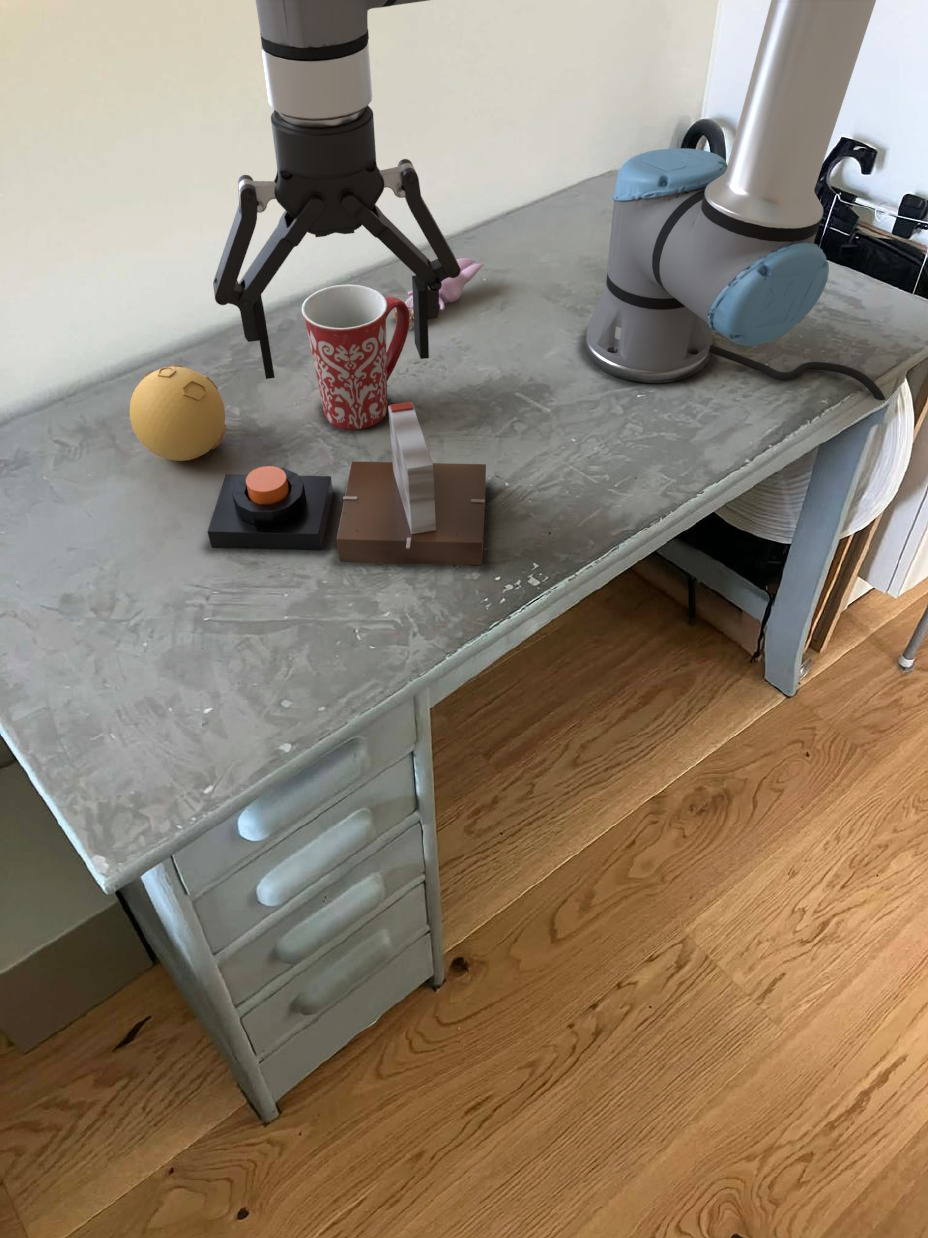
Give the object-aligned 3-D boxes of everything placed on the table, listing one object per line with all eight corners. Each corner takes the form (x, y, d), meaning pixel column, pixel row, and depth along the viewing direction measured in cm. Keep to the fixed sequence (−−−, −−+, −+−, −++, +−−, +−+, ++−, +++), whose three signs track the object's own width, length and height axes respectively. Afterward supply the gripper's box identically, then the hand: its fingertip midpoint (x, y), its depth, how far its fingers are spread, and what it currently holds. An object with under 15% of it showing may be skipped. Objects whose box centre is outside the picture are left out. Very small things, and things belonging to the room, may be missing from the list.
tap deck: (487, 479, 108) (487, 456, 106) (482, 573, 99) (482, 549, 96) (354, 477, 109) (351, 453, 107) (336, 569, 99) (333, 545, 97)
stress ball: (215, 484, 108) (196, 405, 101) (127, 474, 110) (102, 396, 102) (244, 428, 115) (229, 350, 108) (162, 419, 116) (141, 342, 109)
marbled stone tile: (436, 530, 98) (433, 462, 92) (411, 534, 98) (407, 466, 92) (415, 467, 105) (412, 400, 99) (393, 470, 105) (387, 403, 99)
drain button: (291, 479, 103) (289, 466, 102) (285, 505, 100) (282, 491, 99) (252, 479, 103) (249, 465, 102) (245, 504, 100) (242, 491, 99)
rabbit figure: (422, 343, 129) (498, 280, 135) (414, 304, 124) (493, 240, 130) (386, 326, 132) (462, 265, 138) (378, 287, 127) (457, 225, 133)
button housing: (333, 492, 107) (329, 462, 104) (321, 550, 101) (316, 520, 98) (229, 490, 108) (222, 459, 105) (211, 548, 102) (203, 517, 99)
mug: (346, 446, 113) (333, 337, 103) (300, 409, 117) (284, 302, 108) (435, 402, 118) (431, 296, 108) (388, 369, 123) (381, 264, 113)
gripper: (475, 74, 79) (473, 321, 94) (145, 102, 75) (200, 354, 91) (499, 110, 74) (493, 365, 89) (147, 143, 70) (205, 402, 86)
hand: (346, 360), depth 90 cm, fingers open, 13 cm apart
